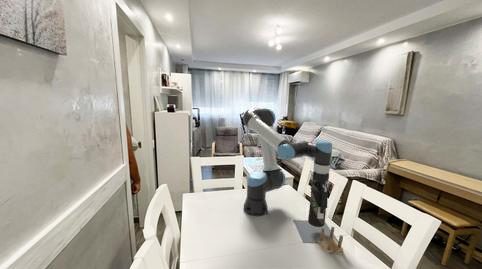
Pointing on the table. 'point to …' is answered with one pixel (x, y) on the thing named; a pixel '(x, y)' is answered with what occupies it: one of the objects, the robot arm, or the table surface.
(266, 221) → the table surface
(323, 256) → the table surface
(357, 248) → the table surface
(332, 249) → the stool
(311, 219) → the container
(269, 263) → the table surface
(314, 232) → the mat
